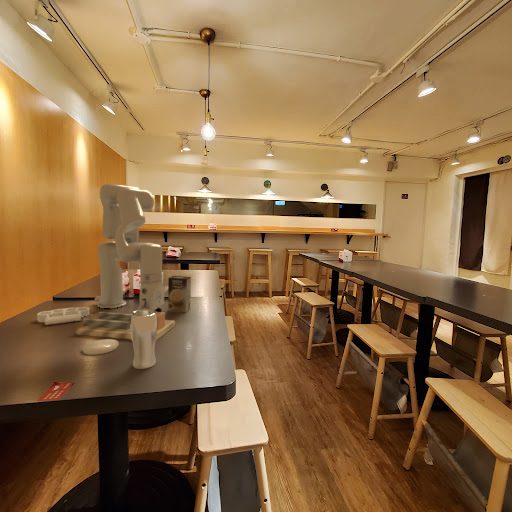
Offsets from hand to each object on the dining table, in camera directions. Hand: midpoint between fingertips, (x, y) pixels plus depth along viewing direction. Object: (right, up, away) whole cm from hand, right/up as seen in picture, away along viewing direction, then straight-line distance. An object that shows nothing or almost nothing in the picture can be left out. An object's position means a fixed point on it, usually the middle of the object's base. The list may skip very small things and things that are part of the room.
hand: (151, 323), depth 101 cm
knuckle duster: (-41, -2, +12) cm, 43 cm away
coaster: (-11, -4, -14) cm, 18 cm away
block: (+1, -1, 0) cm, 1 cm away
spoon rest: (-12, +1, +52) cm, 53 cm away
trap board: (-10, -3, +2) cm, 10 cm away
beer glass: (+7, -6, -24) cm, 25 cm away
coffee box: (+2, -1, +28) cm, 28 cm away
